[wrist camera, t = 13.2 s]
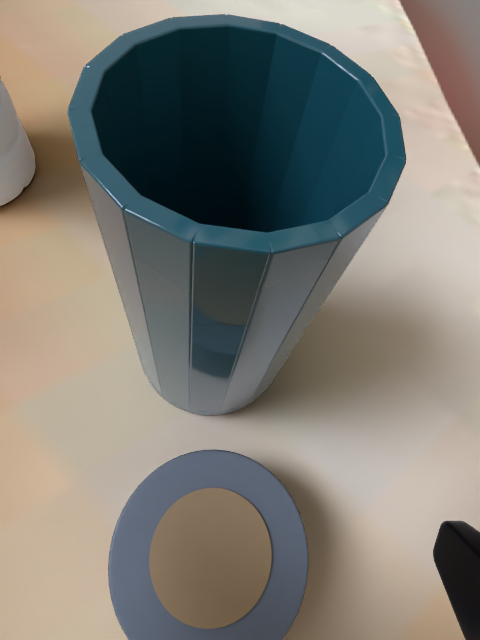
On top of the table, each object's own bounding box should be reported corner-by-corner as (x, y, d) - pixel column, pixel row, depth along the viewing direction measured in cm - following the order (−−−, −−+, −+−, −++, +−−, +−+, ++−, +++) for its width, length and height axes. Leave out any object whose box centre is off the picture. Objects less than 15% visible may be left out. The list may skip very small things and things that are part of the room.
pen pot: (297, 392, 19) (466, 210, 8) (159, 435, 18) (108, 288, 6) (251, 276, 22) (326, 6, 10) (127, 304, 20) (47, 24, 9)
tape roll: (320, 564, 16) (350, 575, 13) (182, 697, 14) (182, 746, 11) (225, 429, 18) (233, 412, 15) (91, 527, 16) (68, 531, 13)
